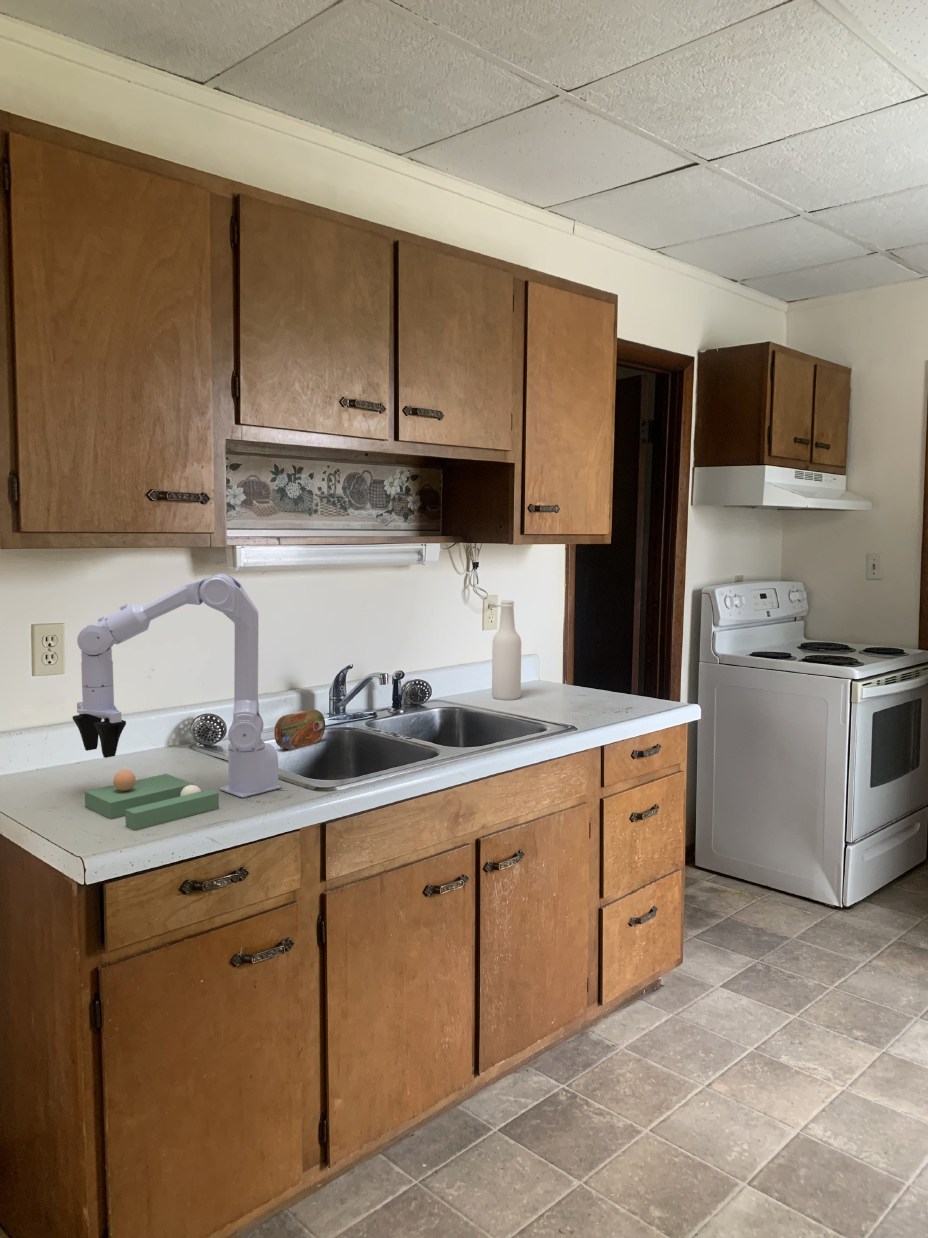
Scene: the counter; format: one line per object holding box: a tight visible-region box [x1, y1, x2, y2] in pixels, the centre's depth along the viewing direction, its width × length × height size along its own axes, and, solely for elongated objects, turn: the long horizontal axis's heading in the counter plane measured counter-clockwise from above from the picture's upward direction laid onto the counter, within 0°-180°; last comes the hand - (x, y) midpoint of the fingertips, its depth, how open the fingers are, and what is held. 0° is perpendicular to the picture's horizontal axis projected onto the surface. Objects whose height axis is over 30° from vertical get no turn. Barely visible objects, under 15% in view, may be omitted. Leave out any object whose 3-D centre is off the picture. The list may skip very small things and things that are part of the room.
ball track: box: [84, 773, 220, 831], centre depth 176 cm, size 17×19×3 cm
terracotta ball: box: [112, 769, 137, 791], centre depth 176 cm, size 4×4×4 cm
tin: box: [273, 709, 326, 751], centre depth 224 cm, size 15×3×8 cm, turn 144°
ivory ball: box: [180, 784, 202, 796], centre depth 177 cm, size 4×4×4 cm
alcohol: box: [491, 599, 522, 701], centre depth 284 cm, size 9×9×30 cm
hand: (100, 753), depth 182 cm, fingers open, 7 cm apart
